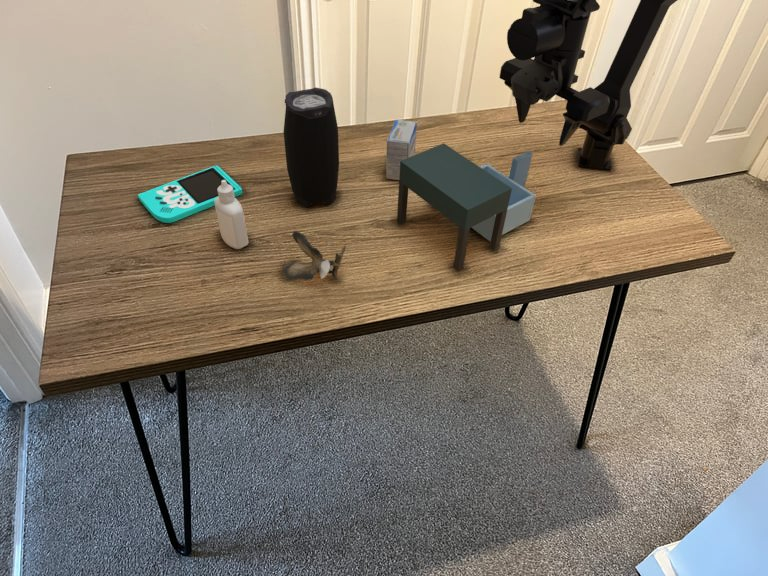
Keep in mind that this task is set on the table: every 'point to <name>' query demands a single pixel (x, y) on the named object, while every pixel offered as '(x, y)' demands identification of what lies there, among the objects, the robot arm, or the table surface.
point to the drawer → (512, 196)
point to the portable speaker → (311, 146)
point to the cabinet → (454, 193)
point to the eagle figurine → (317, 265)
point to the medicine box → (400, 146)
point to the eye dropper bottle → (230, 217)
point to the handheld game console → (186, 195)
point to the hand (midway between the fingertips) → (541, 133)
